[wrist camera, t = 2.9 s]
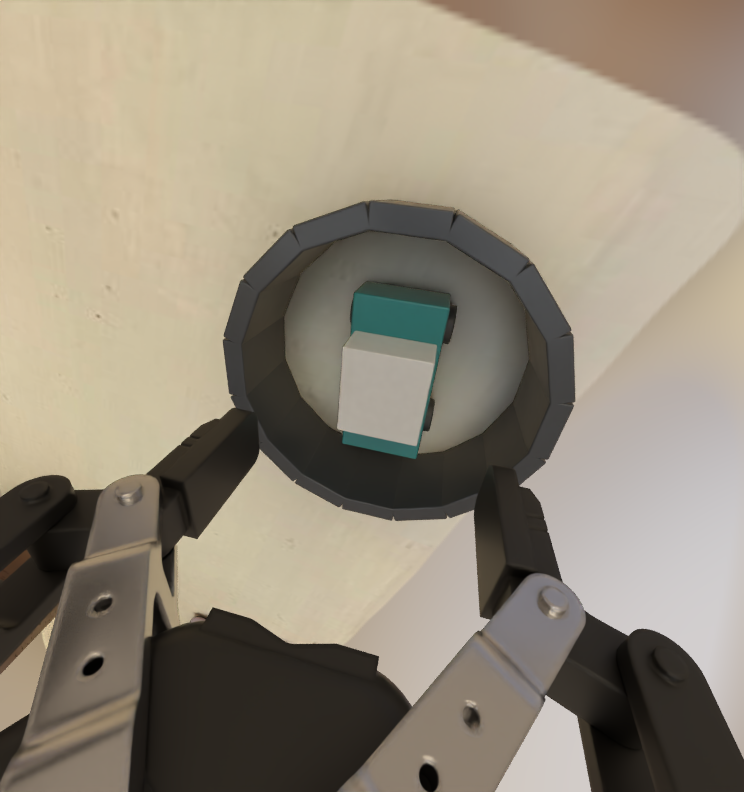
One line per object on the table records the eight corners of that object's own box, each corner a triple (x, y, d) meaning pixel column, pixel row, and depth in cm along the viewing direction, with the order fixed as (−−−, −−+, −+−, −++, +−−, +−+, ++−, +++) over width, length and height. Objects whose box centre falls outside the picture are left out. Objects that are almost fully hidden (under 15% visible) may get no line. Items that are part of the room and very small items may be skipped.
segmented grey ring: (262, 183, 16) (201, 178, 12) (602, 226, 14) (656, 237, 10) (274, 437, 24) (240, 484, 20) (497, 487, 22) (506, 548, 18)
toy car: (361, 276, 17) (329, 303, 13) (459, 291, 17) (461, 325, 12) (349, 410, 21) (322, 467, 17) (427, 427, 21) (420, 489, 16)
